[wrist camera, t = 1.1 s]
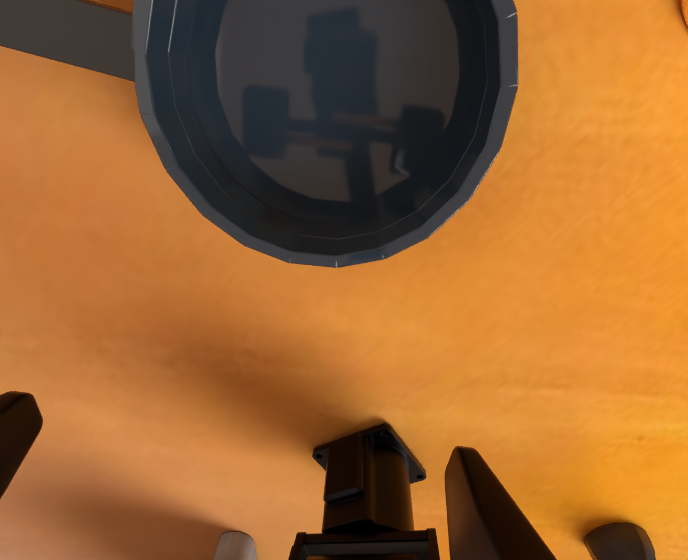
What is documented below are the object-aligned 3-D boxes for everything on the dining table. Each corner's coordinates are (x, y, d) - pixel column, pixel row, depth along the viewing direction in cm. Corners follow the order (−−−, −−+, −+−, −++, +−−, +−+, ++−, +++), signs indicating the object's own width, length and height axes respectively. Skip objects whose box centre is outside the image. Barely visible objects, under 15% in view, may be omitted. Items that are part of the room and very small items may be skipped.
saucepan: (530, 145, 18) (569, 168, 14) (293, 270, 22) (279, 312, 18) (395, -227, 12) (405, -330, 9) (114, 30, 17) (46, 25, 13)
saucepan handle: (153, 17, 14) (135, 15, 13) (153, 79, 15) (137, 82, 14) (-138, -64, 13) (-181, -73, 12) (-117, 7, 14) (-155, 4, 13)
